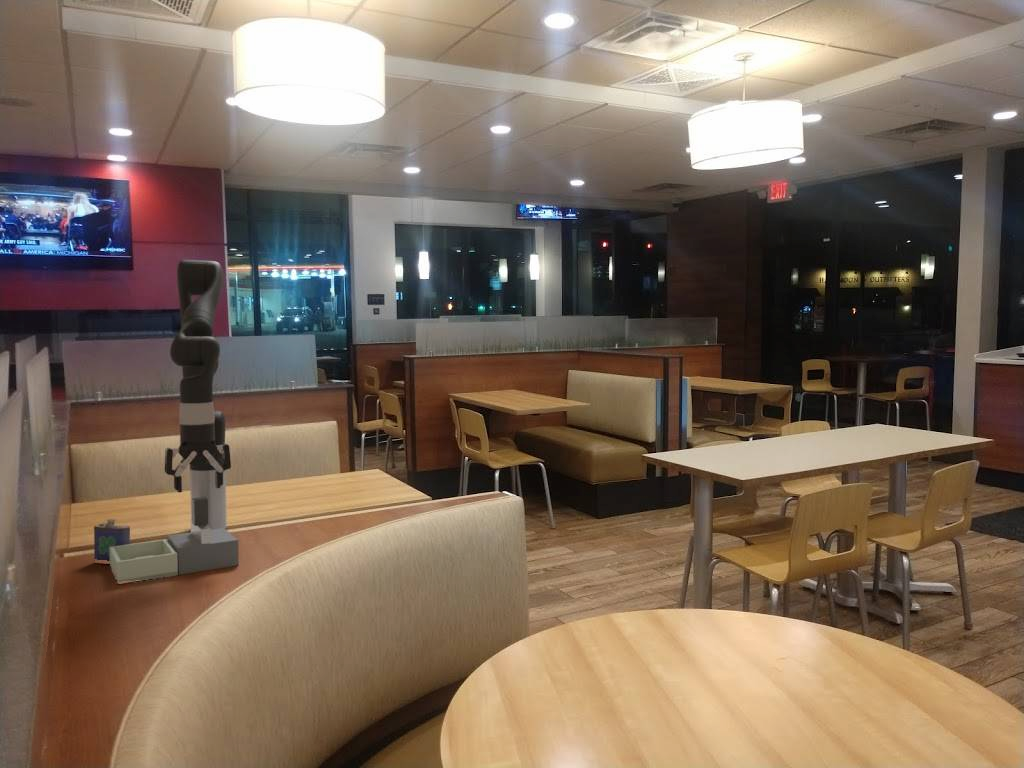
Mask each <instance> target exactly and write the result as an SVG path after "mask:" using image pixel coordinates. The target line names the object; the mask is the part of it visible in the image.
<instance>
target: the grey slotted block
mask: <svg viewBox="0 0 1024 768" xmlns="http://www.w3.org/2000/svg"><path fill="white" fill-rule="evenodd" d="M210 531H211V543H210V544H203V545H201V544H200V543H199V542H198V541H197V540H196V539H195V538H194V537H193V536H192V535H191V531H190V532H183V533H175V534H169V535H166V536H167V541H168V543H169V544H170V545H171V546H172V548H173V549H174V550H175V551H176V552H177V559H178V576H179V575H186V574H192V573H198V572H205V571H211V570H217V569H218V570H219V569H223V568H230V567H235V566H239V562H240V560H239V539H238V538H237V537H235V536H234V535H233V534H232V533H230V531H228V530H227V528H220V529H213V530H210Z"/></svg>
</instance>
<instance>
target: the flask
mask: <svg viewBox="0 0 1024 768" xmlns="http://www.w3.org/2000/svg"><path fill="white" fill-rule="evenodd" d="M115 522H116V518H106V523H105V522H102V523H99V524H95V525H94V527H93V531H94V532H93V539H94V547H93V550H94V551H93V552H94V554H93V555H94V560H95V559H97V560H107V561H110V550H109V547H112V546H119V545H127V544H131V527H130V526H129V525H115Z"/></svg>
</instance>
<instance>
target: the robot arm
mask: <svg viewBox="0 0 1024 768" xmlns="http://www.w3.org/2000/svg"><path fill="white" fill-rule="evenodd" d="M176 268H177V269H176V278H177V280H176V281H177V290H178V299H179V300H178V302H179V311H180V329H179V330H178V333H177V334H176V335H175V337H174V338H173V339H172V342H171V345H170V348H169V355H170V359H171V361H172V362H173V363H174V364H175V365H176V366H179V367H181V368H182V379H181V380H180V383H179V391H180V401H179V402H180V407H179V439H180V440H179V443H180V444H179V446H178V448H171V447H166V448H165V449H164V450H165V451H164V454H165V455H164V473H165V474H166V475H167V476H168V475H169V476H172V477H173V489H174V490H175V491H176V492H178V493H182V492H183V481H182V476H181V475H182V473H183V472H184V470H186V469H187V467H188V466H189V481H190V483H189V484H190V485H189V486H190V487H189V488H190V520H191V519H192V498H199V497H206V498H207V499H208V524H206V525H207V526H208V527H210V530H213V529H220V528H225V529H227V527H228V526H227V481H226V480H227V479H226V471H227V470H230V469H231V467H232V463H231V462H232V461H231V451H230V449H231V448H230V445H229V444H228V443H226V417H225V414H224V413H223V411H220V410H215V409H214V396H213V395H214V393H213V391H214V390H213V389H214V388H213V383H214V376H215V375H216V373H217V370H218V368H219V357H220V353H221V347H220V343H219V342H218V340H217V339H216V337H215V335H214V324H215V315H216V310H217V308H218V306H219V302H220V298H221V295H222V293H223V287H224V285H223V284H224V273H223V272H224V271H223V268H222V266H221V264H220V263H219V261H218V262H217V261H214V260H201V259H182V260H179V262H178V264H177V266H176ZM193 296H198V297H197V298H196V299H194V300H193ZM177 454H179V455H180V456H181V457H182V459H180V461H179V462H178V464H177V466H176V468H174V469H173V460H174V458H176V455H177Z"/></svg>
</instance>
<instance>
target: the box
mask: <svg viewBox="0 0 1024 768" xmlns="http://www.w3.org/2000/svg"><path fill="white" fill-rule="evenodd" d="M109 550H110V565H109V567H110V566H111V568H112V570H113V573H114V575H115V577H116V580H117V582H123V581H135V580H146V581H150V580H149V579H153V580H157V579H156V578H159V579H164V578H163V577H165V578H170V577H171V576H172V577H178V576H179V574H178V559H177V552H176V551H175V550H174V549H173V548H172V546H171V545H170V544H169V543H168V539H157V540H149V541H143V542H135V543H130V544H127V545H119V546H112V547H109ZM148 555H154V556H150V557H143V558H136V559H135V557H141V556H148ZM177 575H178V576H177ZM116 580H115V581H116ZM117 582H116V583H117Z"/></svg>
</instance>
